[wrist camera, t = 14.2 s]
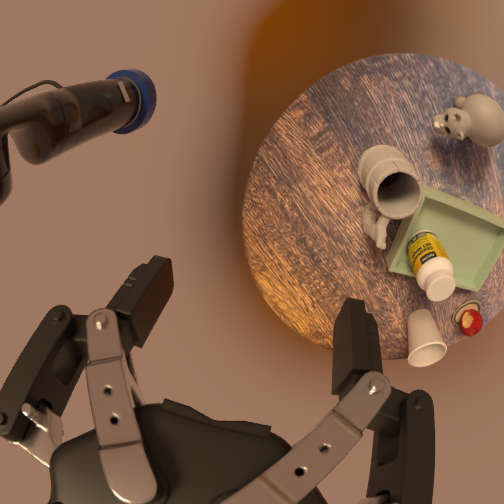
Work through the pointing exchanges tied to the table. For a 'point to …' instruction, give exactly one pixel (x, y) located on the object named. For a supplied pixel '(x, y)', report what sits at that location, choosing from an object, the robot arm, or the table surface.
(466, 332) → the apple
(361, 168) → the mug
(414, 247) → the pill bottle
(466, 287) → the tray
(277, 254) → the table surface
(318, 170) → the table surface
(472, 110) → the toy rhinoceros
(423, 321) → the dixie cup
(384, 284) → the table surface
